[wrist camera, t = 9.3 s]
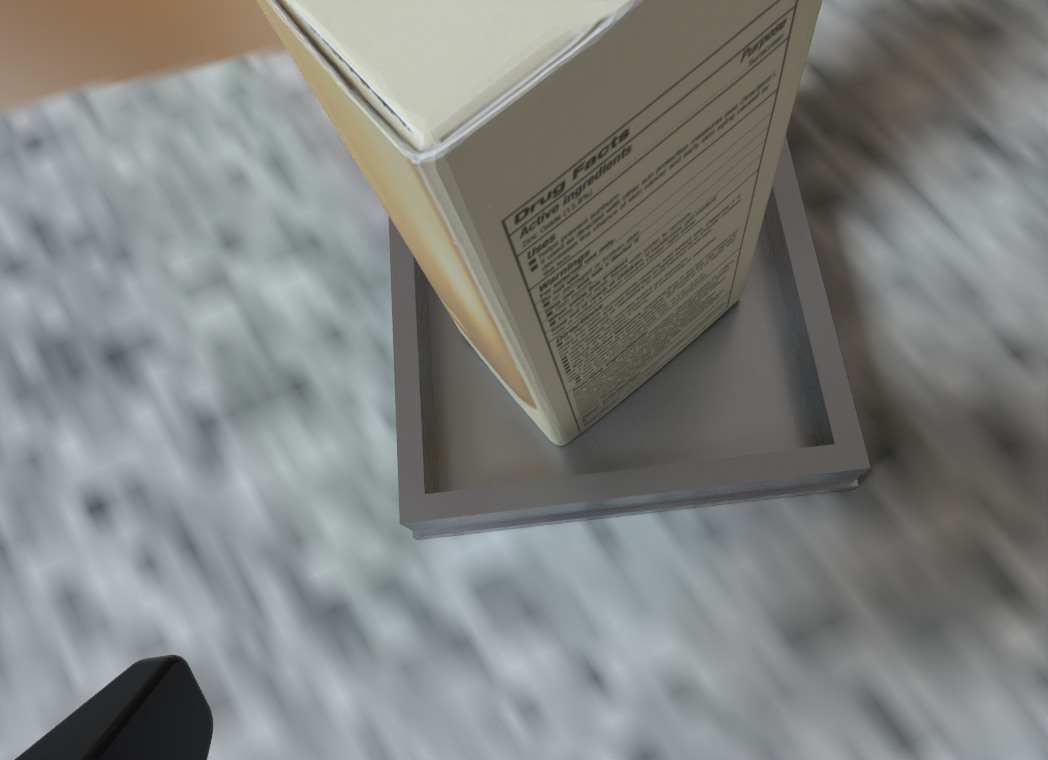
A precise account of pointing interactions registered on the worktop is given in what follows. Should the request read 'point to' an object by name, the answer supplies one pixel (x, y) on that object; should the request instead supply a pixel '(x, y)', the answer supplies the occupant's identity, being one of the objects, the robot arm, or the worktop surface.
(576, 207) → the skincare box
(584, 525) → the worktop surface
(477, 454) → the square gray open tray
